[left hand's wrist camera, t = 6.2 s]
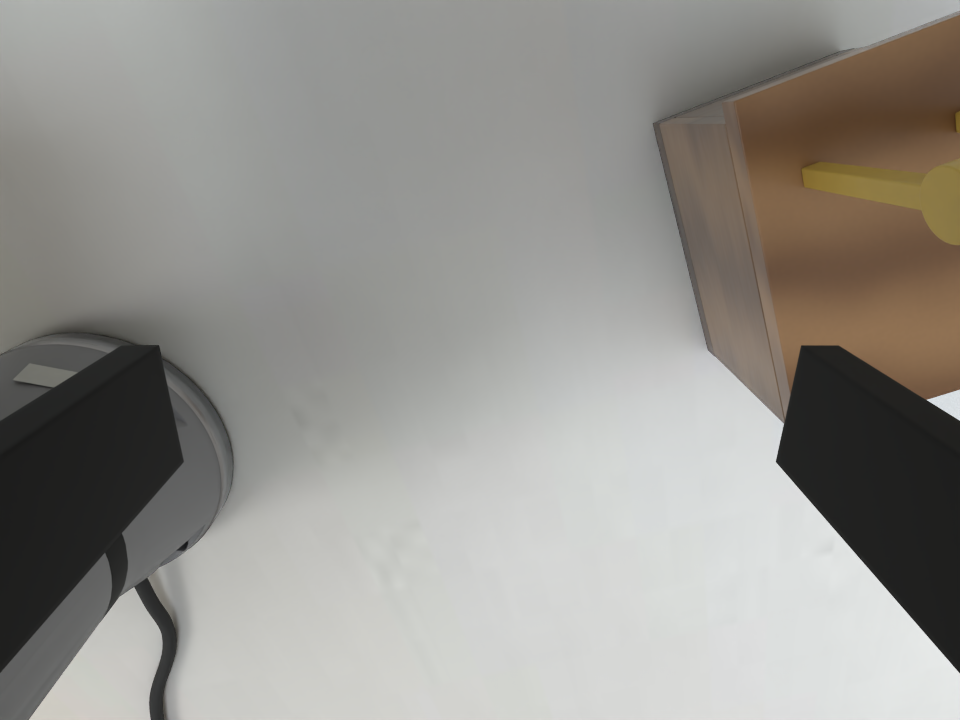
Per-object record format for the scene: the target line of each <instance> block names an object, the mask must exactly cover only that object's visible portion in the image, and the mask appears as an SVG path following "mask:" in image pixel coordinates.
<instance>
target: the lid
mask: <svg viewBox="0 0 960 720" xmlns="http://www.w3.org/2000/svg"><path fill="white" fill-rule="evenodd" d="M722 108H723V113H724V118H725V123H726V128H727V133H728V138H729V143H730V148H731V153H732V158H733V163H734V168H735V173H736V178H737V183H738V188H739V193H740V198H741V203H742V208H743V213H744V218H745V223H746V228H747V233H748V238H749V243H750V247H751V252H752V257H753V262H754V267H755V272H756V277H757V282H758V287H759V292H760V297H761V302H762V307H763V312H764V317H765V322H766V327H767V332H768V337H769V342H770V347H771V352H772V357H773V362H774V367H775V372H776V377H777V382H778V387H779V392H780V397H781V402H782V407H783V412H784V416H785V418H786V413H787V408H788V404H789V399H790V395H791V390H792V385H793V381H794V376H795V371H796V367H797V362H798V357H799V353H800V348H801V345H839V346H840V347H842V348H844V349H845V350H847V351H848V352H850V353H852V354H853V355H855V356H856V357H858V358H860V359H861V360H863V361H864V362H866V363H868V364H869V365H871V366H872V367H874V368H876V369H877V370H879V371H880V372H882V373H884V374H885V375H887V376H889V377H890V378H892V379H893V380H895V381H897V382H898V383H900V384H901V385H903V386H905V387H906V388H908V389H909V390H911V391H913V392H914V393H916V394H917V395H919V396H921V397H922V398H924V399H925V400H927V399H930V398H934V397H937V396H940V395H943V394H947V393H950V392H953V391H956V390H960V11H958V12H955V13H953V14H950V15H948V16H945V17H942V18H940V19H937V20H935V21H932V22H929V23H927V24H924V25H922V26H919V27H916V28H914V29H911V30H909V31H906V32H903V33H901V34H898V35H896V36H893V37H890V38H888V39H885V40H883V41H880V42H877V43H875V44H872V45H870V46H867V47H864V48H862V49H859V50H856V51H854V52H851V53H849V54H846V55H843V56H841V57H838V58H836V59H833V60H830V61H828V62H825V63H823V64H820V65H817V66H815V67H812V68H810V69H807V70H804V71H802V72H799V73H797V74H794V75H791V76H789V77H786V78H784V79H781V80H778V81H776V82H773V83H771V84H768V85H765V86H763V87H760V88H757V89H755V90H752V91H750V92H747V93H744V94H742V95H739V96H737V97H734V98H731V99H729V100H726V101H724V102H722Z"/></svg>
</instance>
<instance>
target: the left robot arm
mask: <svg viewBox="0 0 960 720" xmlns="http://www.w3.org/2000/svg"><path fill="white" fill-rule="evenodd" d="M776 463H777V464H778V465H779V466H780V467H781V468H782V469H783V471H784V472H785V473H786V474H787V475H788V476H789V477H790V479H791V480H792V481H793V482H794V483H795V484H796V485H797V487H798V488H799V489H800V490H801V491H802V492H803V494H804V495H805V496H806V497H807V498H808V499H809V500H810V502H811V503H812V504H813V505H814V506H815V507H816V508H817V510H818V511H819V512H820V513H821V514H822V515H823V517H824V518H825V519H826V520H827V521H828V522H829V523H830V525H831V526H832V527H833V528H834V529H835V530H836V531H837V533H838V534H839V535H840V536H841V537H842V538H843V539H844V541H845V542H846V543H847V544H848V545H849V546H850V548H851V549H852V550H853V551H854V552H855V553H856V554H857V556H858V557H859V558H860V559H861V560H862V561H863V562H864V564H865V565H866V566H867V567H868V568H869V569H870V570H871V572H872V573H873V574H874V575H875V576H876V577H877V579H878V580H879V581H880V582H881V583H882V584H883V585H884V587H885V588H886V589H887V590H888V591H889V592H890V593H891V595H892V596H893V597H894V598H895V599H896V600H897V602H898V603H899V604H900V605H901V606H902V607H903V608H904V610H905V611H906V612H907V613H908V614H909V615H910V616H911V618H912V619H913V620H914V621H915V622H916V623H917V624H918V626H919V627H920V628H921V629H922V630H923V631H924V633H925V634H926V635H927V636H928V637H929V638H930V639H931V641H932V642H933V643H934V644H935V645H936V646H937V647H938V649H939V650H940V651H941V652H942V653H943V654H944V656H945V657H946V658H947V659H948V660H949V661H950V662H951V664H952V665H953V666H954V667H955V668H956V669H957V670H958V672H959V673H960V421H959V420H958V419H956V418H954V417H953V416H951V415H949V414H948V413H946V412H945V411H943V410H941V409H940V408H938V407H937V406H935V405H933V404H932V403H930V402H929V401H927V400H925V399H924V398H922V397H921V396H919V395H917V394H916V393H914V392H913V391H911V390H909V389H908V388H906V387H905V386H903V385H901V384H900V383H898V382H897V381H895V380H893V379H892V378H890V377H889V376H887V375H885V374H884V373H882V372H880V371H879V370H877V369H876V368H874V367H872V366H871V365H869V364H868V363H866V362H864V361H863V360H861V359H860V358H858V357H856V356H855V355H853V354H852V353H850V352H848V351H847V350H845V349H844V348H842V347H840V346H839V345H801V348H800V353H799V357H798V362H797V367H796V371H795V376H794V381H793V385H792V390H791V395H790V399H789V404H788V408H787V413H786V418H785V422H784V427H783V432H782V436H781V441H780V446H779V450H778V455H777V459H776ZM232 476H233V460H232V452H231V447H230V442H229V439H228V436H227V433H226V431H225V428H224V426H223V424H222V421H221V420H220V418H219V416H218V414H217V412H216V411H215V409H214V408H213V406H212V405H211V403H210V402H209V400H208V399H207V398H206V397H205V395H204V394H203V393H202V392H201V390H200V389H199V388H198V387H197V386H196V385H195V384H194V383H193V382H192V381H191V380H190V379H189V378H187V377H186V376H185V375H184V374H183V373H182V372H180V371H179V370H178V369H176V368H175V367H174V366H172V365H171V364H170V363H168V362H166V361H165V360H163V359H162V357H161V353H160V348H159V345H133V344H131V343H128V342H125V341H122V340H119V339H115V338H111V337H107V336H101V335H95V334H85V333H63V334H54V335H48V336H44V337H40V338H36V339H34V340H31V341H28V342H26V343H23V344H21V345H19V346H17V347H15V348H13V349H11V350H9V351H7V352H5V353H3V354H1V355H0V720H29V718H30V717H31V716H32V714H33V713H34V712H35V710H36V709H37V708H38V706H39V705H40V703H41V702H42V701H43V699H44V698H45V697H46V695H47V694H48V692H49V691H50V690H51V688H52V687H53V686H54V684H55V683H56V682H57V680H58V679H59V677H60V676H61V675H62V673H63V672H64V671H65V669H66V668H67V666H68V665H69V664H70V662H71V661H72V660H73V658H74V657H75V656H76V654H77V653H78V651H79V650H80V649H81V647H82V646H83V645H84V643H85V642H86V641H87V639H88V638H89V636H90V635H91V634H92V632H93V631H94V630H95V628H96V627H97V625H98V624H99V623H100V622H101V620H102V619H103V618H104V616H105V615H106V614H107V612H108V611H109V610H110V608H111V607H112V606H113V604H114V603H115V602H116V600H117V599H118V598H119V597H120V596H121V595H123V594H124V593H126V592H127V591H128V590H130V589H131V588H133V587H135V589H136V591H137V593H138V595H139V597H140V598H141V600H142V602H143V604H144V606H145V607H146V609H147V611H148V612H149V614H150V615H151V616H152V618H153V619H154V620H155V622H156V623H157V625H158V627H159V628H160V631H161V633H162V639H163V650H162V656H161V660H160V663H159V666H158V669H157V672H156V675H155V678H154V681H153V684H152V688H151V692H150V701H149V706H150V717H151V720H164V714H163V692H164V688H165V684H166V681H167V678H168V675H169V673H170V670H171V667H172V664H173V661H174V657H175V653H176V642H177V640H176V632H175V628H174V624H173V622H172V619H171V617H170V616H169V614H168V612H167V611H166V610H165V608H164V607H163V605H162V604H161V602H160V601H159V599H158V597H157V596H156V594H155V592H154V590H153V588H152V586H151V584H150V582H149V580H148V578H147V577H148V576H150V575H151V574H152V573H153V572H155V571H156V570H157V569H158V568H159V567H160V566H163V565H165V564H167V563H169V562H170V561H172V560H174V559H175V558H177V557H178V556H180V555H181V554H183V553H184V552H185V551H187V550H188V549H189V548H191V547H192V546H193V545H194V544H196V543H197V542H198V541H199V540H200V539H201V538H202V536H203V535H204V534H205V533H206V531H207V530H208V529H209V527H210V526H211V524H212V523H213V521H214V520H215V518H216V517H217V515H218V514H219V512H220V511H221V509H222V507H223V505H224V504H225V502H226V499H227V497H228V494H229V491H230V487H231V483H232Z"/></svg>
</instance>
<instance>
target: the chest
mask: <svg viewBox="0 0 960 720" xmlns="http://www.w3.org/2000/svg"><path fill="white" fill-rule="evenodd" d="M862 48H864V47H861V48H856V49H849V50H843V51H840V52H837V53H835V54H832V55H830V56H827V57H824V58H822V59H819V60H817V61H814V62H811V63H809V64H806V65H804V66H801V67H798V68H796V69H793V70H791V71H788V72H785V73H783V74H780V75H778V76H775V77H772V78H770V79H767V80H765V81H762V82H759V83H757V84H754V85H752V86H749V87H747V88H744V89H741V90H739V91H736V92H734V93H731V94H728V95H726V96H723V97H721V98H718V99H715V100H713V101H710V102H708V103H705V104H702V105H700V106H697V107H695V108H692V109H689V110H687V111H684V112H682V113H679V114H676V115H674V116H671V117H669V118H666V119H663V120H661V121H658V122H656V123H653V126H654V130H655V134H656V138H657V143H658V147H659V151H660V155H661V159H662V163H663V167H664V171H665V175H666V180H667V184H668V188H669V192H670V196H671V200H672V204H673V208H674V212H675V216H676V221H677V225H678V229H679V233H680V237H681V241H682V245H683V249H684V253H685V257H686V262H687V266H688V270H689V274H690V278H691V282H692V286H693V290H694V294H695V299H696V303H697V307H698V311H699V315H700V319H701V323H702V327H703V331H704V335H705V340H706V344H707V348H708V350H709V351H710V352H711V353H712V354H713V355H714V356H715V357H717V358H718V359H719V360H720V361H721V362H722V363H723V364H724V365H725V366H726V367H727V368H728V369H729V370H730V371H731V372H732V373H733V374H734V375H735V376H736V377H737V378H738V379H739V380H740V381H741V382H742V383H743V384H744V385H745V386H746V387H747V388H748V389H749V390H750V391H751V392H752V393H753V394H754V395H755V396H756V397H757V398H758V399H759V400H760V401H761V402H762V403H763V404H764V405H766V406H767V407H768V408H769V409H770V410H771V411H772V412H773V413H774V414H775V415H776V416H777V417H778V418H779V419H780V420H781V421H782V422H783V423H784V422H785V416H784V412H783V407H782V402H781V397H780V392H779V387H778V382H777V377H776V372H775V367H774V362H773V357H772V352H771V347H770V342H769V337H768V332H767V327H766V322H765V317H764V312H763V307H762V302H761V297H760V292H759V287H758V282H757V277H756V272H755V267H754V262H753V257H752V252H751V247H750V243H749V238H748V233H747V228H746V223H745V218H744V213H743V208H742V203H741V198H740V193H739V188H738V183H737V178H736V173H735V168H734V163H733V158H732V153H731V148H730V143H729V138H728V133H727V128H726V123H725V118H724V113H723V108H722V102H724V101H726V100H729V99H731V98H734V97H737V96H739V95H742V94H744V93H747V92H750V91H752V90H755V89H757V88H760V87H763V86H765V85H768V84H771V83H773V82H776V81H778V80H781V79H784V78H786V77H789V76H791V75H794V74H797V73H799V72H802V71H804V70H807V69H810V68H812V67H815V66H817V65H820V64H823V63H825V62H828V61H830V60H833V59H836V58H838V57H841V56H843V55H846V54H849V53H851V52H854V51H856V50H859V49H862Z"/></svg>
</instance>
